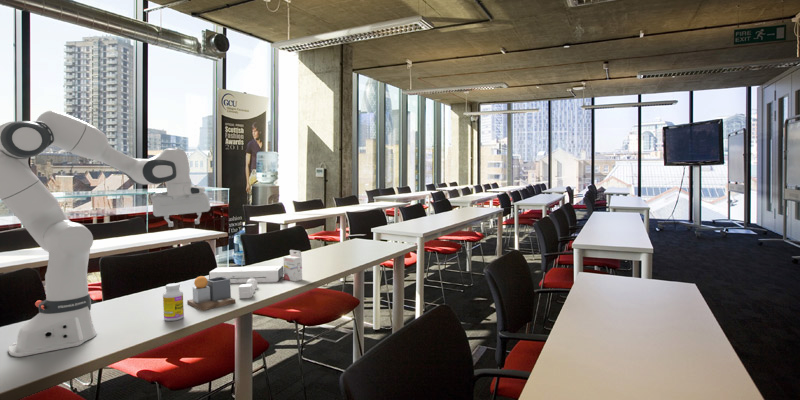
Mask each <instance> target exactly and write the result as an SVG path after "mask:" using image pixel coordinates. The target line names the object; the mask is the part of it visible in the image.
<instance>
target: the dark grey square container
mask: <svg viewBox="0 0 800 400" xmlns="http://www.w3.org/2000/svg"><path fill="white" fill-rule="evenodd" d="M206 279H207V281H208V283H207V285H206V286H209V287H210V300H211V301H213V302H214V301H218V300H223V299H227V298H232V294H231V291H232V289H231V283H230V279H229V278H225V277H216V278H211V279H209V278H206Z"/></svg>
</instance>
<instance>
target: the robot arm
mask: <svg viewBox="0 0 800 400" xmlns="http://www.w3.org/2000/svg"><path fill="white" fill-rule="evenodd" d="M50 146H53V147H56V148H59V149H61V150H63V151H66V152H68V153H70V154H71V155H76V156H78V157H81V158H85V159H89V160H93V161H97V162H99V163H102V164H104V165H106V166H109V167H110V168H113V169H115V170H118V171H120V172H122V174H124V175H125V176H126V177H127V178H128V179H129V180H130V181H131V182H133V184H136V185H138V186H139V185H140V186H147V185H154V186H156V185H160V184H163V183H165V185H166V191H156V192H154V193H152V194H151V195H150V201H151V203H152V214H153V216H154V217H163V219H164V220H165V221H166V223H167V225H168V226H167V227H168V228H171V227H172V228H173V227H174V221H171V220H170V216H175V215H187V214H195V213H196V215H197V218H195V219H194V224H195V225H199V224H200V219H201V216H202V213H205V212H206V213H207V212H209V211H210V210H211V203H210V199H209V196H208V194H207V193H205V191H206V189H205V187H204V186H200V185H195V184H192V179H191V178H190V171H191V169H190V163H189V159H188V156H187V153H186V151H185V150H183V149H180V148H171V147H170V148H169V147H168V148H165V149H163V150H162V151H161V152H160V153H158V154H156V155H154V156H153V157H150V158H134V157H131V156H130V155H127V154H125V153H124V152H121V151H120V150H118V149H115V148H114V147H113V146H111V145H110V144H109V140H108V137H107V135H106V133H104V132H103V131H102V130H100V129H98V127H95V126H94V125H92V124H90V123H88V122H86V121H83V120H81V119H79V118H76V117H75V116H72V115H69V114H66V113H63V112H60V111H56V110H47V111H45V112H43V113H41V114H40V115H39V116H38V117H37V119H36V121H35V120H34V121H31V120H30V121H29V120H18V121H9V122H6V123H2V125H0V201H1V202H2V204H4V205H5V206H6V207H7V209H9V211H11V212H12V214H13V215H14V216H15V217H16V218H17V219H18V220H19V221H20V222H21V224H22V225H23V227H24V228H25V230H26V231H27V232H28V234H29V235H30V236H31V238H33V240H34V241H35V242H36V243H37V244H38V246H40V248H41V249H42V250H44V251H45V252H48V260H47V266H46V267H47V268H46V272H45V275H44V279H45V280H44V281H45V295H46V296H45V297H46V298H45V299H44V300H40V299H39V300H37V301H36V302H35V303H34V305H35V306H36V308H38V313H37V314H36V315H35V316H33V317H32V318H31V319H30V320H28V321H27V322H26V323H24V324H23V325H22V326H21V327H20V329H19V330H18V334H17V338H16V342H13V343H12V344H10V345H9V346H8V348H7V349H8V350H7V351H8V354H9V355H10V356H12V357H18V358H20V357H26V356H31V355H32V356H33V355H36V354H41V353H47V352H53V351H56V350H57V351H58V350H63V349H67V348H73V347H79V346H80V345H82V344H83V343H85V342H86V341H89V340H91V339H93V338H95V337H96V336H97V331H96V329H95V327H94V322H93V319H92V314H91V308H92V300H91V294H90V293H89V283H88V268H89V267H88V266H89V259H90V253H91V252H90V251H91V248H92V246H93V245H94V243H93V242H94V235H93V234H92V231H91V230H90V229H88V227H86V226H85V225H83V224H82V223H80V222H74V221H71V220H70V219H69V218H68V217H67V215H66V214H65V212H64V210H62V207H61V206H60V204H59V201H58V200H57V198H56V197H55V196H54V194H52V192H51V191H50V190H49V189H48V188H47V186H45V184H44V183H43V182H42V180H40V178H39V177H38V176H37V175H36V174H35V172H33V171H32V169H31V167H30V165H29V159H30V158H33V157H36V156H39V155H41V154H42V153H43V152H44V151H46V149H47V148H48V147H50Z"/></svg>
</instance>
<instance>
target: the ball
mask: <svg viewBox="0 0 800 400" xmlns="http://www.w3.org/2000/svg"><path fill="white" fill-rule="evenodd" d="M207 279H208V278H206V277H205V276H204V275H200V276H197V277H196V278H195V279H194V281H193V282H194V283H193V284H194V287H197V288H204V287H206V285H207V283H208V281H207Z"/></svg>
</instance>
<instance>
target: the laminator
mask: <svg viewBox="0 0 800 400" xmlns="http://www.w3.org/2000/svg"><path fill="white" fill-rule="evenodd" d="M216 277H225V278H229V279H230V284H237V283H238V284H246V283H247V281H248V280H249V279H250V278H253V279H255V280H256V281H257V283H278V282H280V281H279V280H280V279H282V278H284V265H265V266H264V265H261V266H260V265H258V266H254V265H253V266H230V267H229V266H227V267H226V266H223V267H221V266H220V267H215V268H214V269H212V270H210V271H208V279H211V278H216Z"/></svg>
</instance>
